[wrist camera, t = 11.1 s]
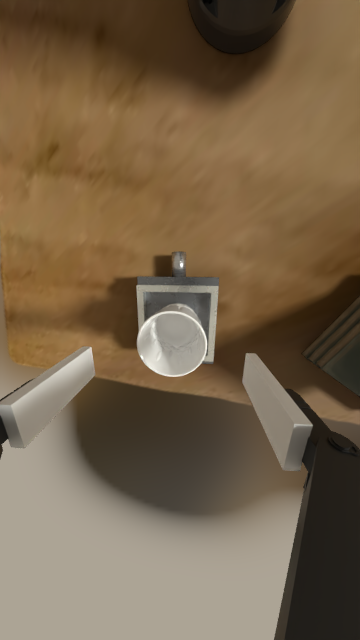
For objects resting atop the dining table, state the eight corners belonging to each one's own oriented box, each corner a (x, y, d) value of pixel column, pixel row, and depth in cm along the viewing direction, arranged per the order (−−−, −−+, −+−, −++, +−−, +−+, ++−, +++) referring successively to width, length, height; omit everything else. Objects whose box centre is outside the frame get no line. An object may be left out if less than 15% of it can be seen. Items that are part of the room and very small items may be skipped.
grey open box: (146, 254, 31) (132, 248, 24) (215, 255, 31) (222, 248, 23) (149, 347, 36) (139, 365, 29) (209, 349, 35) (214, 368, 28)
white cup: (161, 347, 29) (148, 382, 20) (149, 305, 28) (127, 320, 18) (205, 338, 29) (213, 370, 19) (195, 293, 27) (198, 303, 17)
